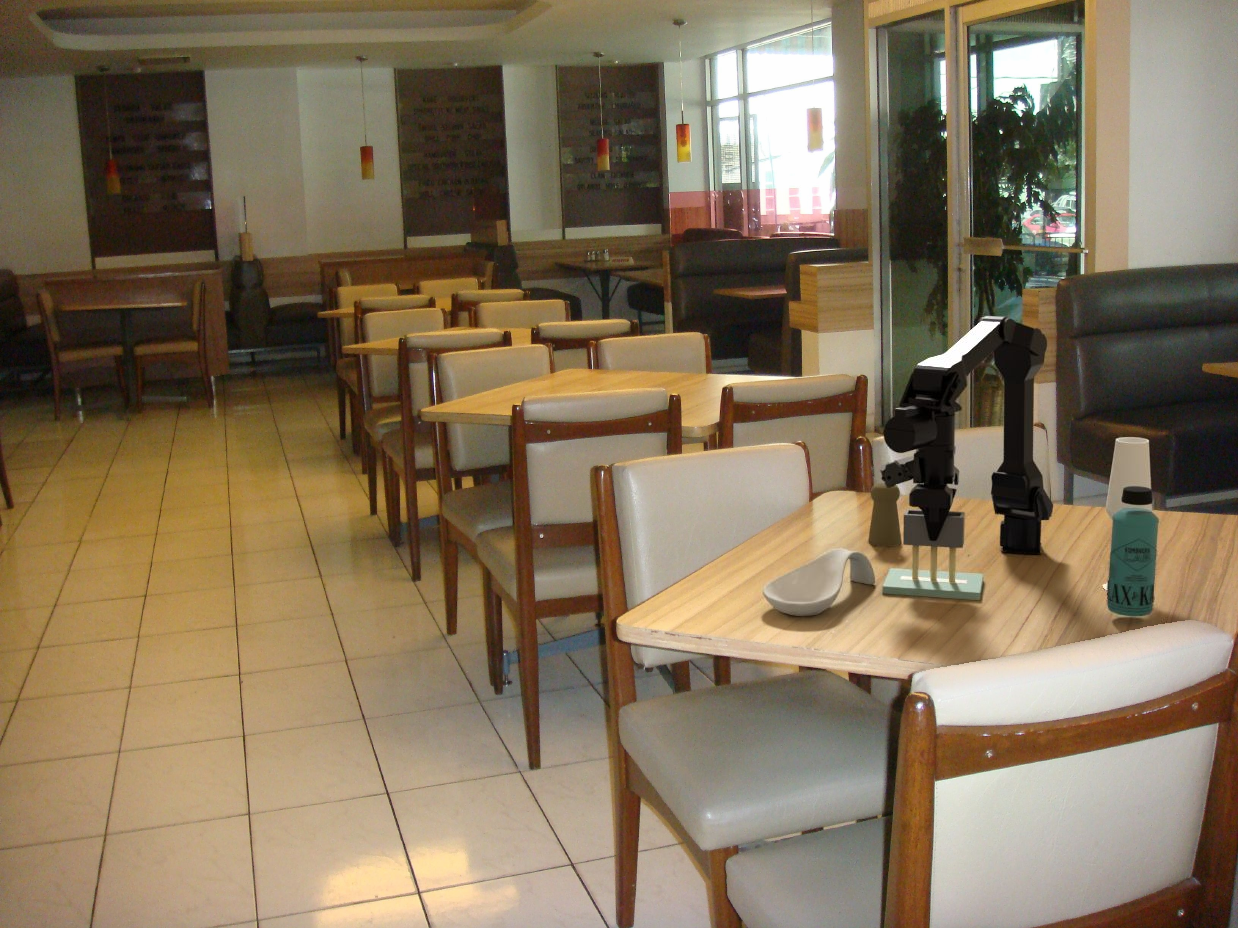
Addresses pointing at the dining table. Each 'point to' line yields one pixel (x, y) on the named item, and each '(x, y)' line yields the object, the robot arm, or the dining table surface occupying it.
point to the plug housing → (918, 532)
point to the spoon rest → (817, 582)
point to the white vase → (1128, 473)
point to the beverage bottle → (1133, 555)
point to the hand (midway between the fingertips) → (934, 537)
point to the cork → (884, 516)
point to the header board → (933, 579)
